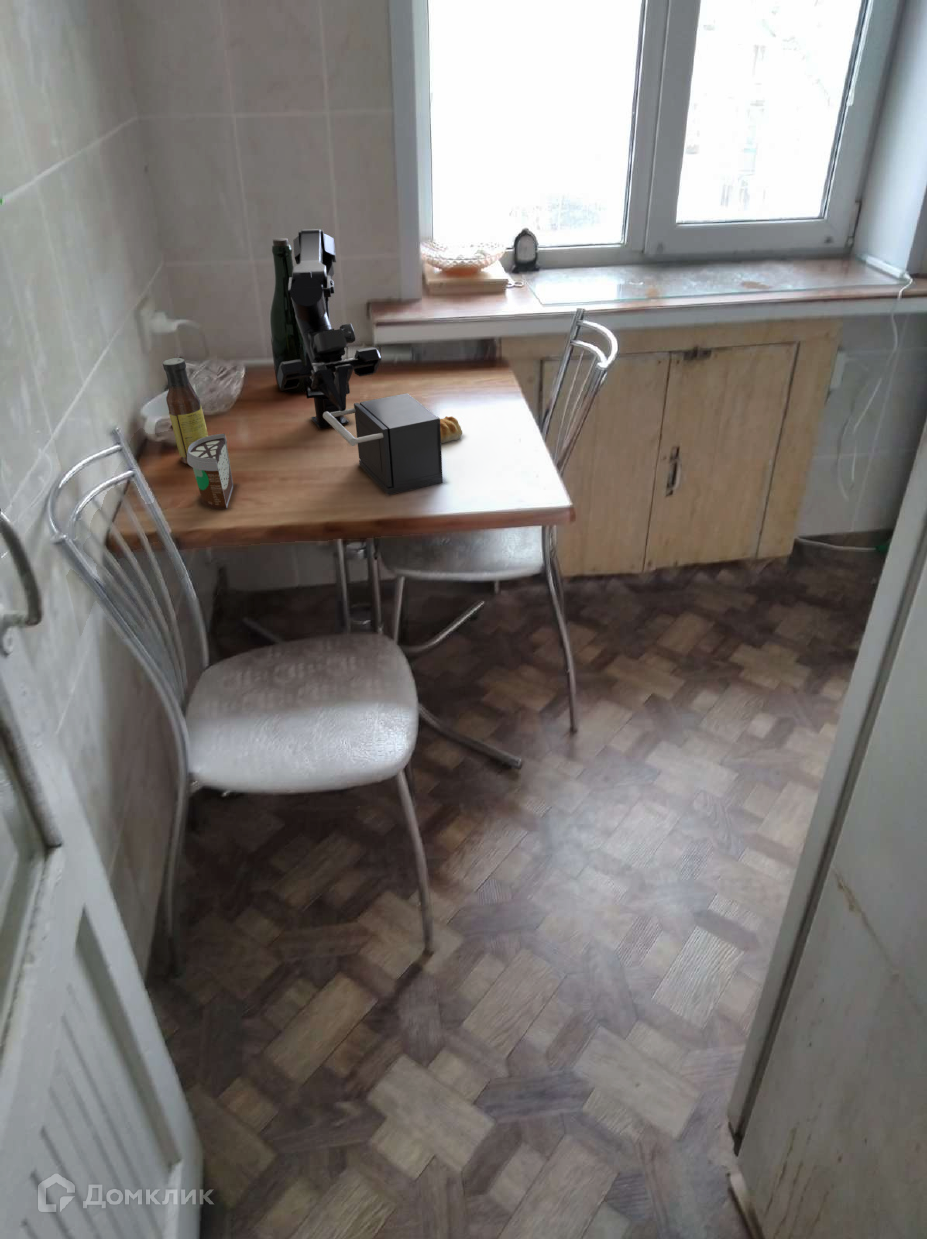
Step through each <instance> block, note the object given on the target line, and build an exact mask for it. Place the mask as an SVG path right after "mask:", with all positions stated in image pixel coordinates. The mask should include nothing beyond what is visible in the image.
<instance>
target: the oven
mask: <svg viewBox="0 0 927 1239" xmlns="http://www.w3.org/2000/svg"><path fill="white" fill-rule="evenodd" d="M359 404H360V405H361V406H362V407H363V408H365V409H366V410H367V411H368V412H369V413H370V414H371V415H372V416H374V417H375V418H376V419H377V420H378V421H379V422H380V423H382V424H383V425H384V426H385V427H386V428H387V429H388V440H389V453H390V466H391V479H392V486H391V487H387V486H386V485H385V484H384V483H383V482H382V481H381V480H380V479H379V478H378V477H377V476H376V475H375V474H374V473H373V472H372V471H371V470H370V469H369V468H368V467H367V466H366V465H365V464H364V463H363V462H362V461H361V460H360V459H358V464H359V466H360V468H361V469H362V470H363V471H364V472H365V473H366V474H367V475H368V476H369V477H370V478H371V479H372V480H373V481H374V482H375V483H376V485H378V486H379V487H380V488H381V489H382V490H383V492H385V493H386V494H387V495H388V496H392V495H395V494H399V493H403V492H408V491H411V490H417V489H421V488H425V487H430V486H434V485H439V484H443V483H444V478H443V458H442V456H443V455H442V443H441V431H440V419H441V418H440V417H439V416H437V415H436V414H435V413H434V412H432V411H431V410H430V409H428V408H427V407H426V406H425V405H423V404H422V403H421V402H420V401H418V400H417V399H416V398H414V397H413V396H412V395H410V394H409V393H407V392H406V393H401V394H397V395H389V396H387V397H386V396H385V397H379V398H374V399H370V400H365V401H364V400H363V401H359Z"/></svg>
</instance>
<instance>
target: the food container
mask: <svg viewBox="0 0 927 1239" xmlns="http://www.w3.org/2000/svg"><path fill="white" fill-rule="evenodd" d="M187 463H188V464H187V465H189V466H190V467H191V468H192V470H193V474H194V477H195V480H196V484H197V487H198V490H199V494H200V497H201V502H202V504H203V505H204V506H207V507H209V508H212V509H220V510H222V509H224V510H225V509H228V506H229V503H230V499H231V495H232V492H233V490H234V482H233V481H234V480H233V476H232V474H233V473H232V468H231V464H230V456H229V450H228V441H227V436H226V433H219V434H212V435H208V436H207V437H204V438H201V439H199V440H197V441H195V442H193V443H192V444H191V445H190V446H189V448H188V452H187Z"/></svg>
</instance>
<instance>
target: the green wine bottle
mask: <svg viewBox="0 0 927 1239" xmlns="http://www.w3.org/2000/svg"><path fill="white" fill-rule="evenodd" d="M270 251H271V256H272V261H273V262H272V263H273V272H274V286H273V293H272V298H271V302H270V307H269V314H268V324H269V325H268V326H269V336H270V344H271V350H272V351H271V352H272V353H271V354H272V360H273V369H274V377H275V383H276V388H278V389H279V390H280V391H282V392H284V393H287V394H303V393H306V392H305V385H304V378H299V381H300V383H299V385H298V386H297V388H293V389H287V390H281V389H280V386H279V383H278V379H277V376H278V371H279V366H280V364H281V363H282V362H287V361H293V360H299V359H300V360H301V361H302V364H303V366H306V360H305V359H306V351H305V344H304V341H303V338H302V335H301V332H300V329H299V326H298V323H297V320H296V317H295V311H294V307H293V303H292V299H289V295H288V284H289V277H292V271H293V267H294V266H295V265H294V259H293V248H292V245H291V244H290V243H289V238H287V237H276V238H275V237H274V238H273V239H272V245H271V250H270Z"/></svg>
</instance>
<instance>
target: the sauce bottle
mask: <svg viewBox="0 0 927 1239" xmlns="http://www.w3.org/2000/svg"><path fill="white" fill-rule="evenodd" d="M162 367H163V370H164V371H165V374H166V379H167V385H168V389H167V394H166V397H165V400H166V405H167V409H168V414H169V418H170V419H169V420H170V422H171V427H172V430H173V431H172V432H173V434H174V438H175V443H176V446H177V450H178V454H179V456H180V459H181V462H182V463H183V464H186V465H189V464H188V463H187V452H188V448H189V446H190V445H191V444H192V443H193V442H195V441H197V440H199V439H201V438H204V437H207V436H209V432H208V428H207V424H206V420H205V415H204V411H203V407H202V403H201V400H200V398H199V397H198V395H197V394H198V393H196V391H195V389H194V387H193V385H192V384H191V382H190V380H189V376H188V372H187V369H186V368H187V364H186V361H185V359H184V358H180V357H174V358H169V359H166V360H164V361H163V362H162Z"/></svg>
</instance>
